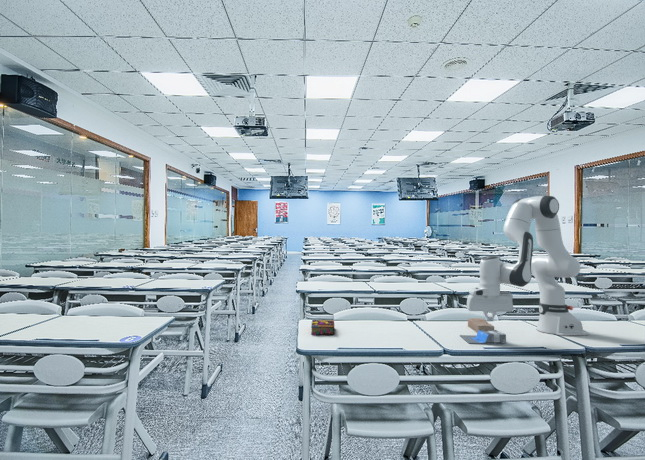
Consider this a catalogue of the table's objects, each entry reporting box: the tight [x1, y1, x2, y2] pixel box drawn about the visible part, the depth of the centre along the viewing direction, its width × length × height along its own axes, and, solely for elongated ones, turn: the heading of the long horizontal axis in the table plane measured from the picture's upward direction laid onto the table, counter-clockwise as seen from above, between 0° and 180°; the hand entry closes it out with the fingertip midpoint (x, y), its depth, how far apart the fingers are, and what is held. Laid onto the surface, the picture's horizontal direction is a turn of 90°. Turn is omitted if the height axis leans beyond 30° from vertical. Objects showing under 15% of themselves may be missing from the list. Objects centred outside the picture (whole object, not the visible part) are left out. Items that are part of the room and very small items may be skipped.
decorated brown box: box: [310, 319, 335, 336], centre depth 186 cm, size 11×16×5 cm
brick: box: [467, 317, 495, 333], centre depth 192 cm, size 17×8×5 cm, turn 177°
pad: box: [459, 334, 504, 345], centre depth 172 cm, size 15×13×1 cm
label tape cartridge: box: [472, 329, 507, 344], centre depth 170 cm, size 9×4×12 cm
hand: (489, 320), depth 172 cm, fingers closed
